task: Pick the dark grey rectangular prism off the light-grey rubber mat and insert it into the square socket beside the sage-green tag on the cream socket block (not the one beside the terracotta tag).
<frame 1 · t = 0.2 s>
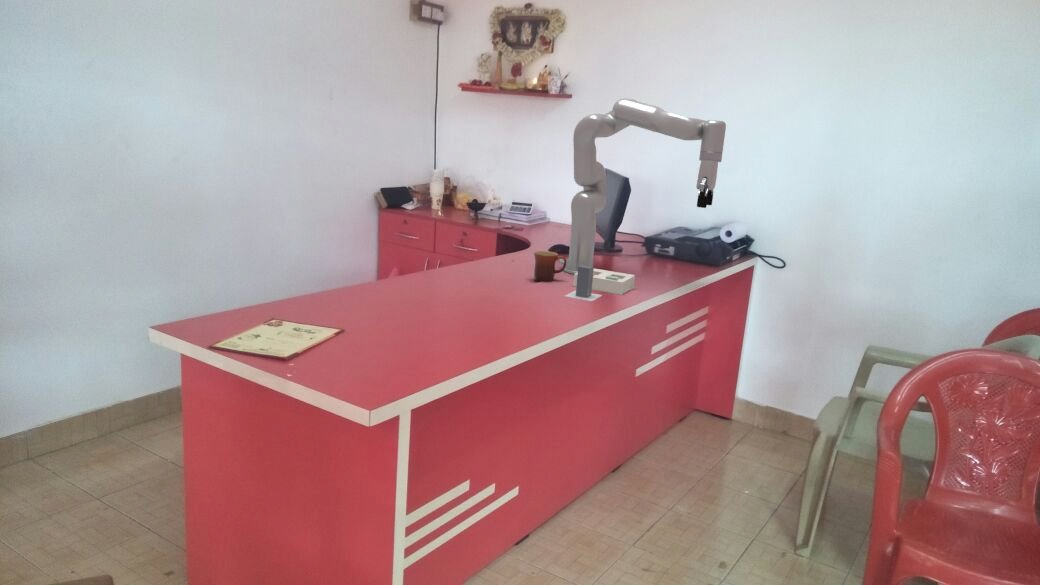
hand: (704, 206, 251), 31 cm above the table, fingers open, 9 cm apart
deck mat: (583, 297, 240), on the table
socket block: (603, 288, 254), on the table
dark grey rectangular prism: (583, 295, 239), point 1 cm above the table, touching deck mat
mug: (548, 281, 259), on the table
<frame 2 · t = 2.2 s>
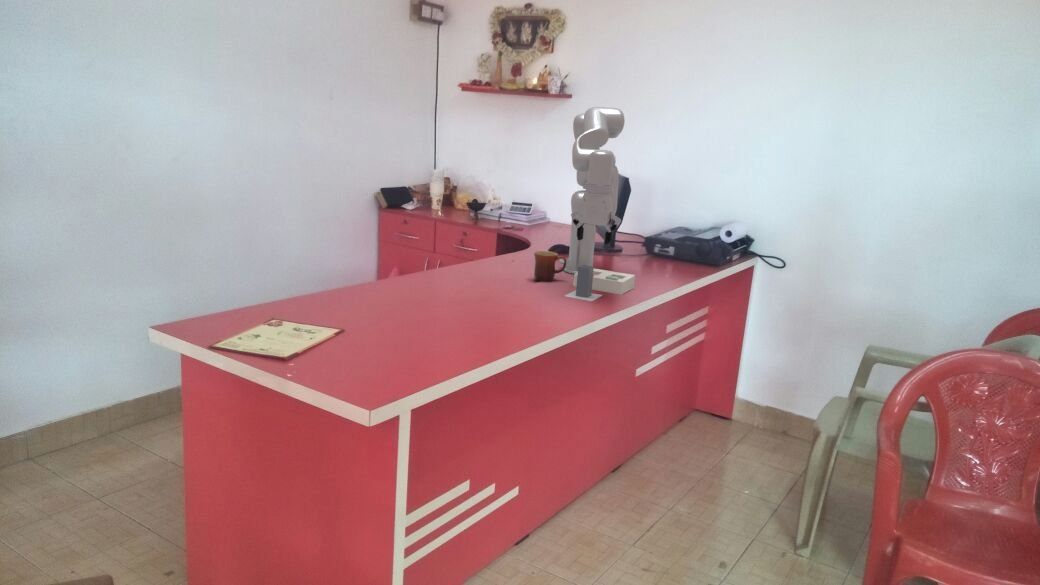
hand: (593, 241, 235), 19 cm above the table, fingers open, 9 cm apart
nothing on the table moved.
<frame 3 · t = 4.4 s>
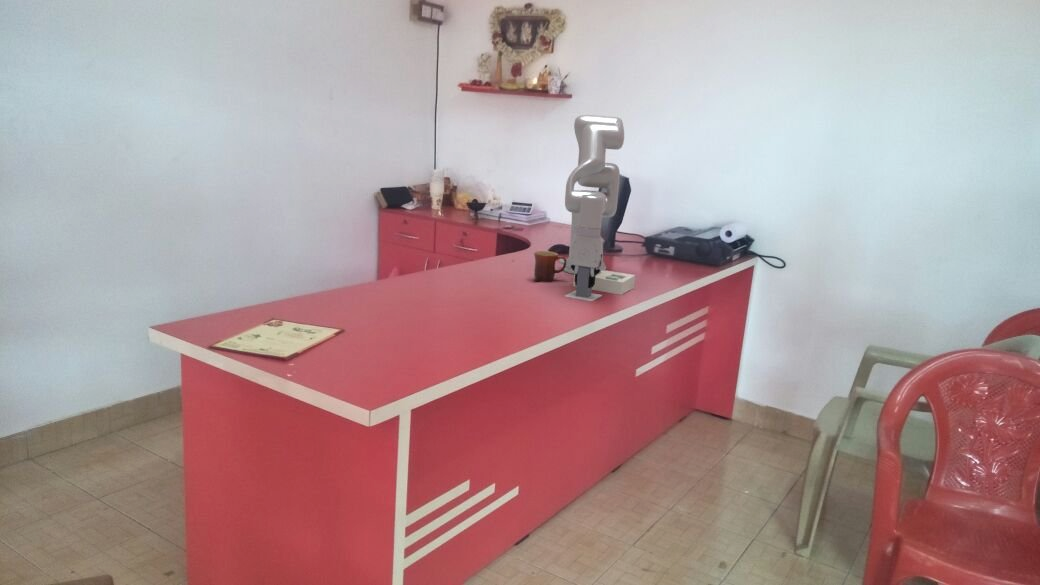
hand: (584, 285, 239), 4 cm above the table, fingers closed on dark grey rectangular prism, 4 cm apart
dark grey rectangular prism: (583, 295, 239), point 1 cm above the table, touching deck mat, gripper
everything else where it was.
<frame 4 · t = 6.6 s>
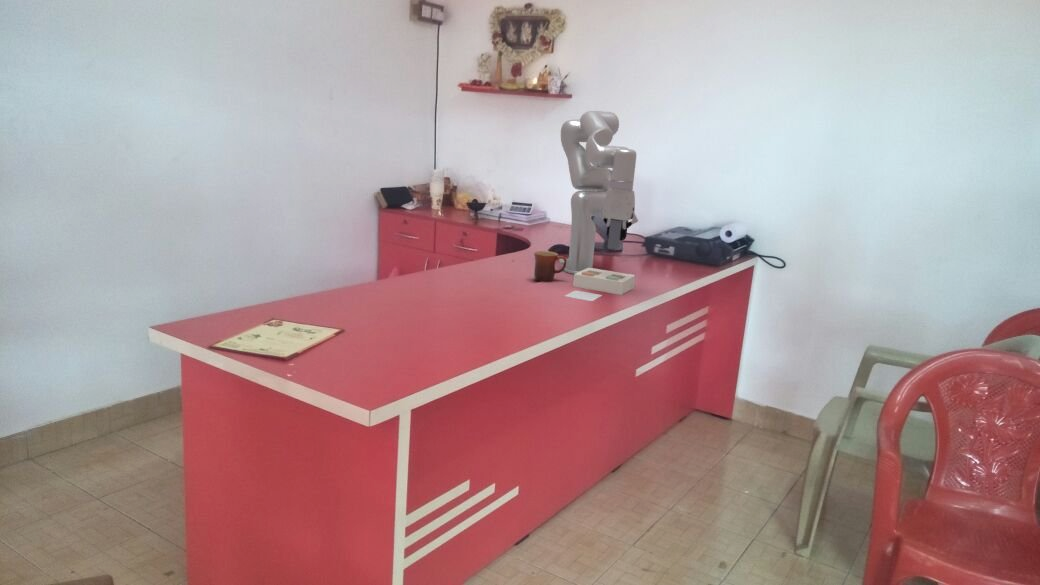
hand: (616, 238, 246), 19 cm above the table, fingers closed on dark grey rectangular prism, 4 cm apart
dark grey rectangular prism: (615, 248, 247), point 15 cm above the table, touching gripper
everything else where it was.
when the fingers open (6 cm above the table, at t = 8.9 s): dark grey rectangular prism drops 1 cm, resting on socket block.
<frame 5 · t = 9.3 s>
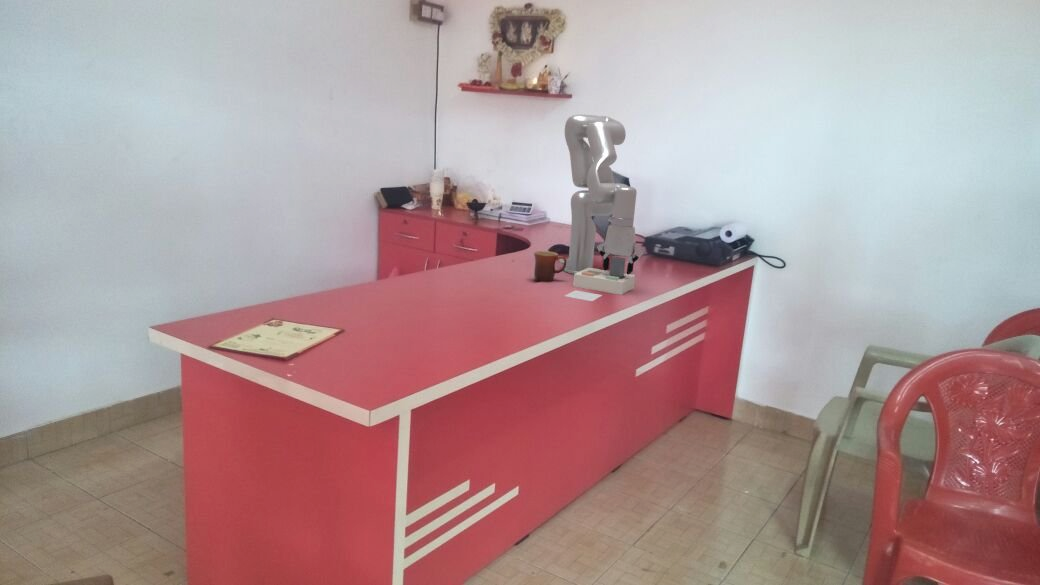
hand: (617, 271, 250), 7 cm above the table, fingers open, 8 cm apart
dark grey rectangular prism: (615, 285, 252), point 2 cm above the table, touching socket block
everything else where it was.
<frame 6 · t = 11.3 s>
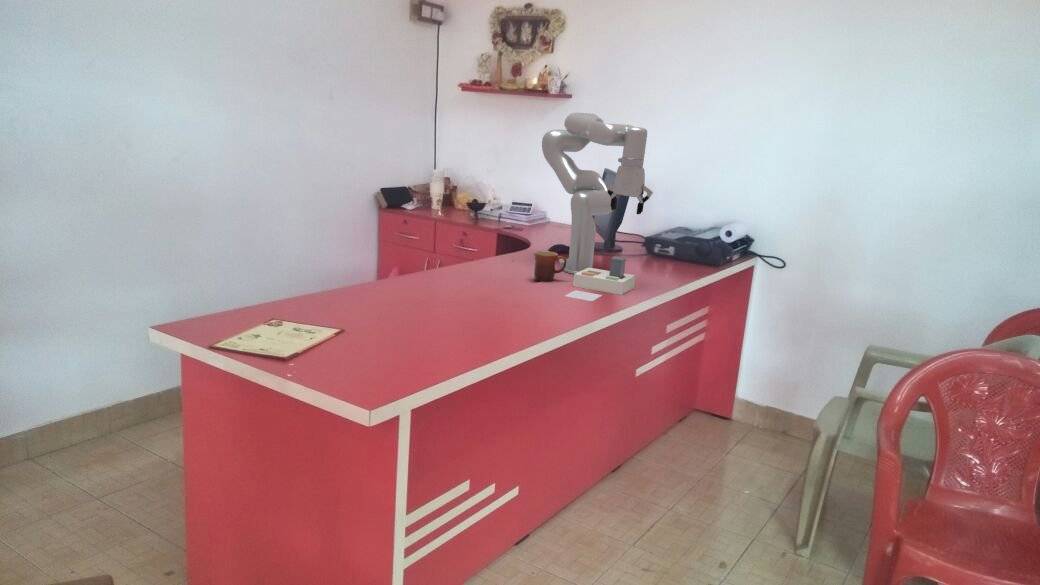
hand: (626, 211, 253), 27 cm above the table, fingers open, 9 cm apart
nothing on the table moved.
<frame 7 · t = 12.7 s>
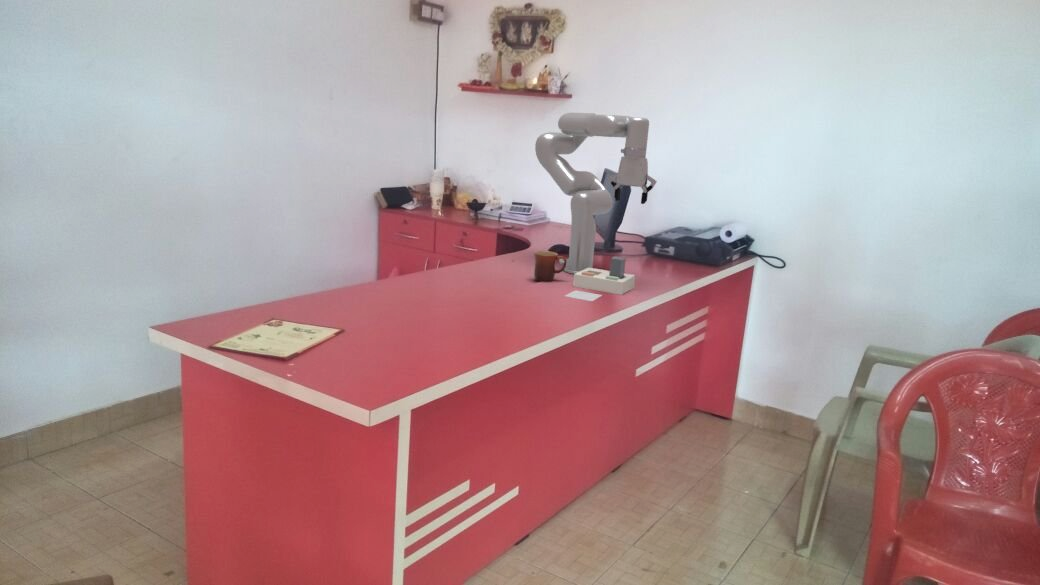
hand: (630, 201, 255), 30 cm above the table, fingers open, 9 cm apart
nothing on the table moved.
at the end: dark grey rectangular prism 0.2 cm from the target spot on the socket block, point 1.6 cm above the socket block's base; dark grey rectangular prism tilted 0°; the gripper is holding nothing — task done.
